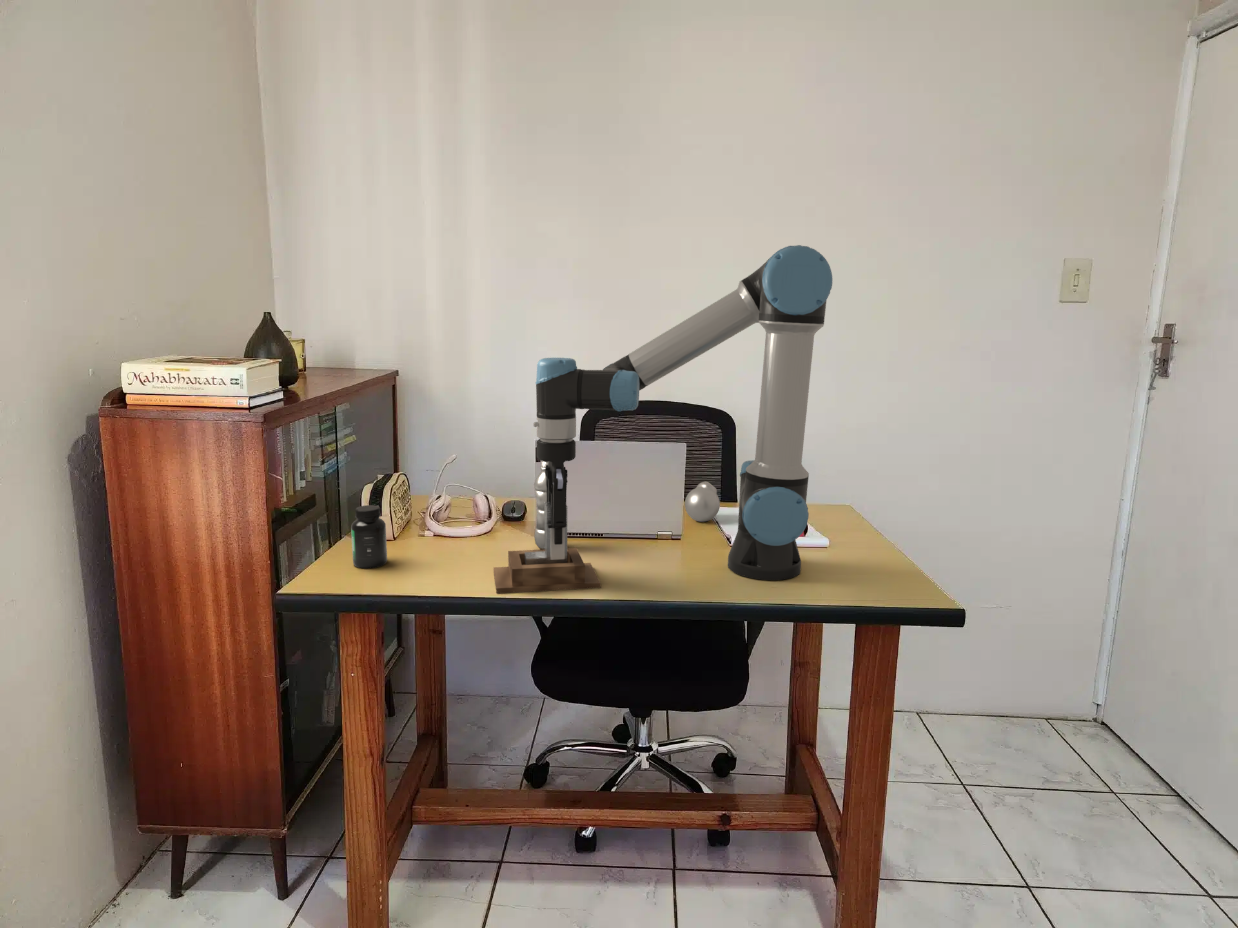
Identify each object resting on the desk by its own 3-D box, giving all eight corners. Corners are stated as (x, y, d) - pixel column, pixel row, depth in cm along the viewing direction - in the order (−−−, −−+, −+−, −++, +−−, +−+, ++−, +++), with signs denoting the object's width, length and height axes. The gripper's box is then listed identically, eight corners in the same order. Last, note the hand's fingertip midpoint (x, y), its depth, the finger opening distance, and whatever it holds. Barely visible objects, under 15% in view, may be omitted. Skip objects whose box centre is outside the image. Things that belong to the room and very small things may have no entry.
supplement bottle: (349, 569, 163) (346, 512, 160) (358, 558, 169) (355, 503, 167) (383, 569, 163) (380, 512, 161) (390, 558, 170) (388, 503, 167)
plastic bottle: (559, 553, 175) (560, 464, 171) (530, 551, 176) (529, 462, 172) (567, 545, 181) (568, 458, 177) (539, 542, 182) (538, 457, 178)
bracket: (564, 558, 161) (564, 501, 158) (567, 565, 157) (567, 506, 154) (524, 560, 159) (524, 502, 157) (526, 567, 155) (526, 507, 153)
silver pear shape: (728, 522, 202) (730, 484, 199) (698, 527, 197) (700, 488, 195) (705, 514, 209) (707, 477, 207) (676, 518, 204) (678, 480, 202)
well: (590, 567, 166) (590, 546, 165) (600, 587, 155) (600, 565, 154) (493, 571, 162) (493, 550, 162) (496, 593, 151) (496, 570, 150)
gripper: (532, 431, 161) (533, 542, 165) (541, 447, 144) (541, 570, 149) (569, 431, 162) (568, 541, 167) (582, 446, 146) (581, 568, 151)
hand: (556, 554), depth 158 cm, fingers closed on bracket, 4 cm apart
